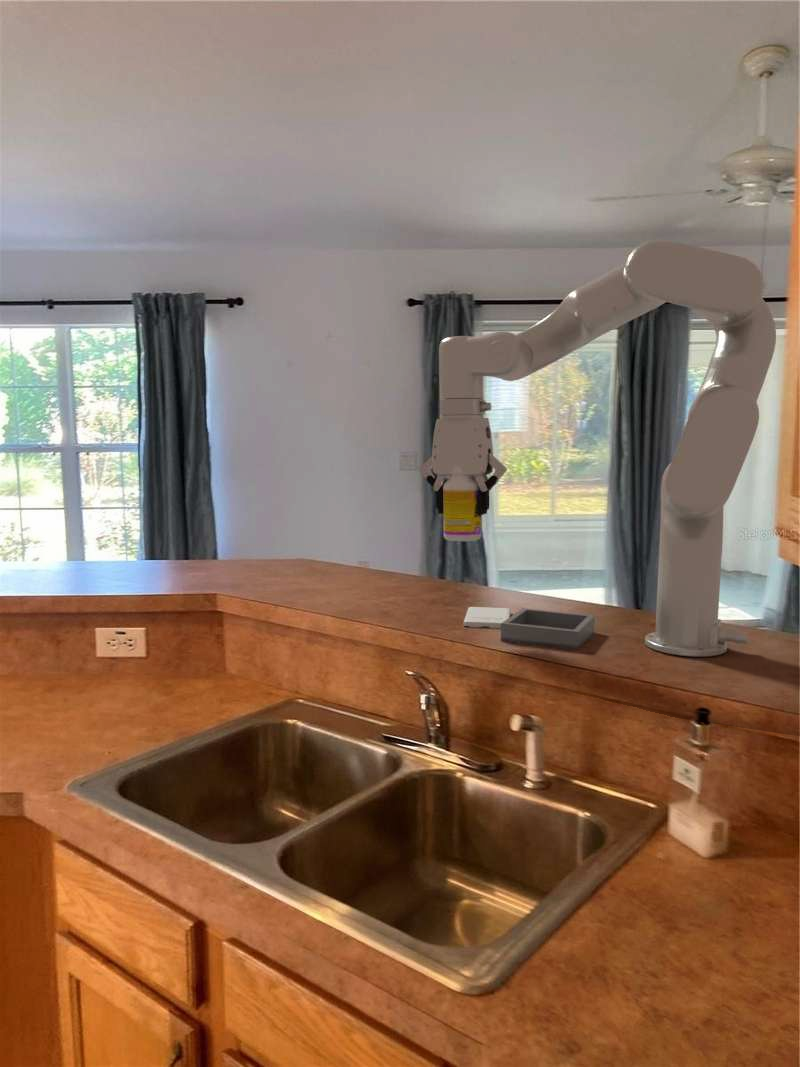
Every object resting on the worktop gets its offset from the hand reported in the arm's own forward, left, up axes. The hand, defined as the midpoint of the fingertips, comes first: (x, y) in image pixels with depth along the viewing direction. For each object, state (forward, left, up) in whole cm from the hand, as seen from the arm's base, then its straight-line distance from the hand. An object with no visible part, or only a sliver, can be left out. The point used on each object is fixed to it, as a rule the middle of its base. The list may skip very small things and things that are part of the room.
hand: (462, 512), depth 137 cm
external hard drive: (-2, -9, -22) cm, 24 cm away
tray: (-15, -2, -21) cm, 26 cm away
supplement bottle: (0, 0, -5) cm, 5 cm away
